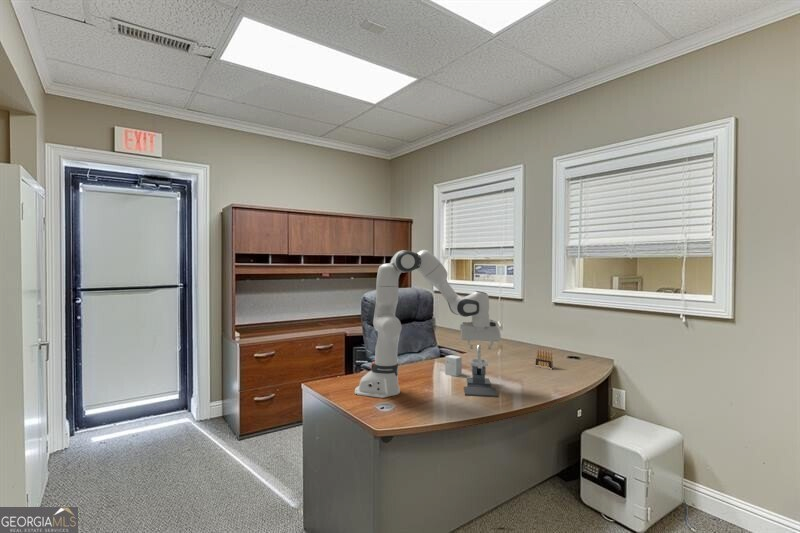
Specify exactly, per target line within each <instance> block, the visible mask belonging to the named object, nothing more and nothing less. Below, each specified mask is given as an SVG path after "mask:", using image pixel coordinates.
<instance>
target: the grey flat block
mask: <svg viewBox="0 0 800 533" xmlns="http://www.w3.org/2000/svg"><path fill="white" fill-rule="evenodd" d="M469 363H470V364H469V365H470V366H471V367H472V366H478V368H482V366H486V367H488V366H489V362H488V360H487V359H485V358H484V359H483V358H481V360H477V358H469Z"/></svg>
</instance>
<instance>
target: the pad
mask: <svg viewBox="0 0 800 533" xmlns="http://www.w3.org/2000/svg"><path fill="white" fill-rule="evenodd" d="M463 392H464V396H466V397H467V396H468V397H485V398H487V397H488V398H499V394H498V391H497V388H496V387H491V388H486V387H467V386H463Z"/></svg>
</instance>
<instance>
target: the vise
mask: <svg viewBox="0 0 800 533" xmlns="http://www.w3.org/2000/svg"><path fill="white" fill-rule="evenodd" d="M481 351H482V345H481V344H476V359H477V360H481V359H482V357H481V356H482V352H481ZM486 368H487V366H482V368H478V366H471V376H472V377H466V387H483V388H492V383H491V380H490V378H489V377H488V378H486V370H487V369H486Z"/></svg>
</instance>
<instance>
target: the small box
mask: <svg viewBox="0 0 800 533" xmlns="http://www.w3.org/2000/svg"><path fill="white" fill-rule="evenodd" d="M444 358H445V362H444V363H445V364H444V365H445V366H444V368H445V370H444V371H445V372H444V374H445V375H448V376H451V377H456V378H457V377H459V376H462V374H463V372H462V371H463V369H462V368H463V366H462V365H463V364H462V363H463V361H462V360H463V359H462V356H457V355H454V354H453V355H452V354H449V355H446V356H445V357H444Z"/></svg>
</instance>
